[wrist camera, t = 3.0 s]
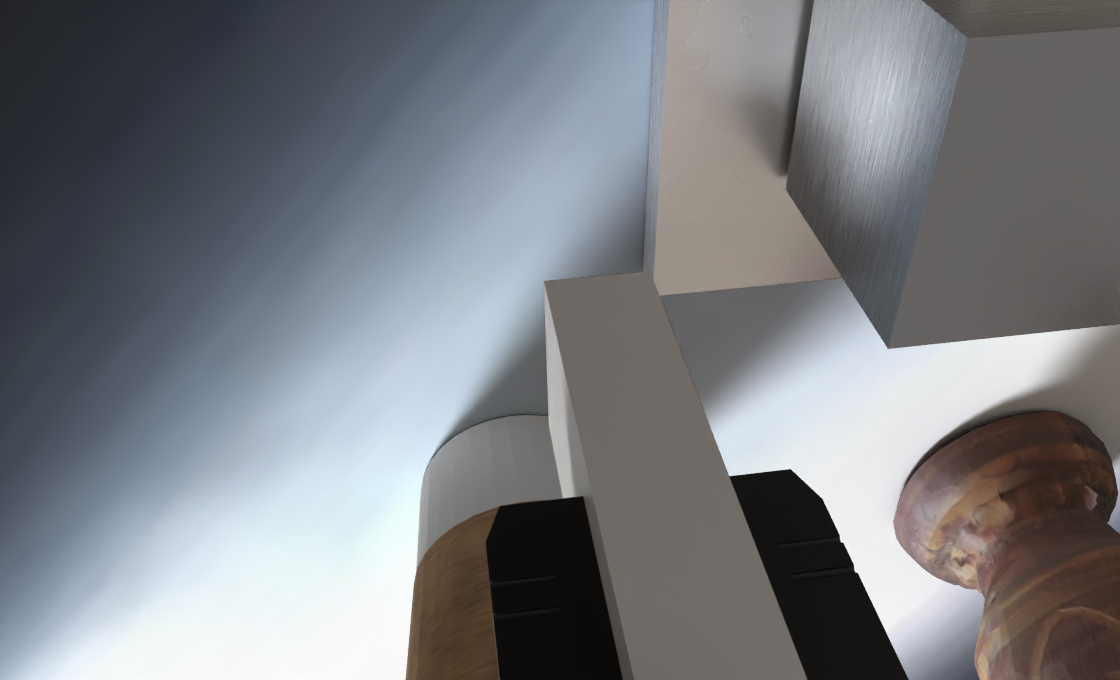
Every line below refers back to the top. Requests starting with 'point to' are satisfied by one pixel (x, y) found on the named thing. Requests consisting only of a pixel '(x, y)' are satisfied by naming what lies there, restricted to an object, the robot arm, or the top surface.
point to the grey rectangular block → (965, 163)
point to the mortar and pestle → (1025, 543)
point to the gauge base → (727, 147)
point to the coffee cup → (470, 541)
